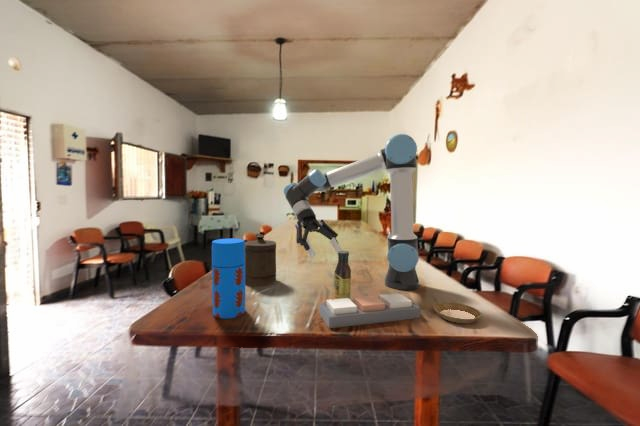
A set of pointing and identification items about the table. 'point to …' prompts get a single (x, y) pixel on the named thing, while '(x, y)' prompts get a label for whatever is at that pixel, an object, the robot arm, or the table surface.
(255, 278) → the wooden container
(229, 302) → the thermos
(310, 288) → the table surface
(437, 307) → the tan shallow bowl
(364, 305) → the key mid
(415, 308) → the key pad
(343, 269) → the sauce bottle
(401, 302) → the key
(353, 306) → the key
